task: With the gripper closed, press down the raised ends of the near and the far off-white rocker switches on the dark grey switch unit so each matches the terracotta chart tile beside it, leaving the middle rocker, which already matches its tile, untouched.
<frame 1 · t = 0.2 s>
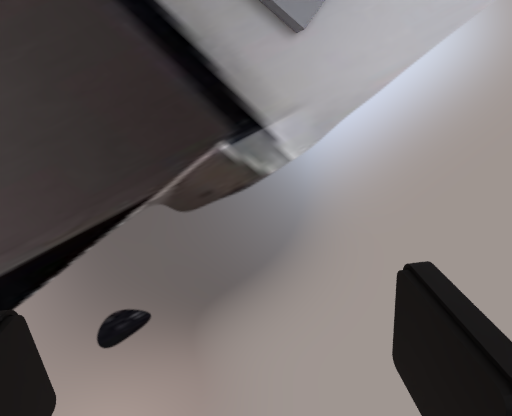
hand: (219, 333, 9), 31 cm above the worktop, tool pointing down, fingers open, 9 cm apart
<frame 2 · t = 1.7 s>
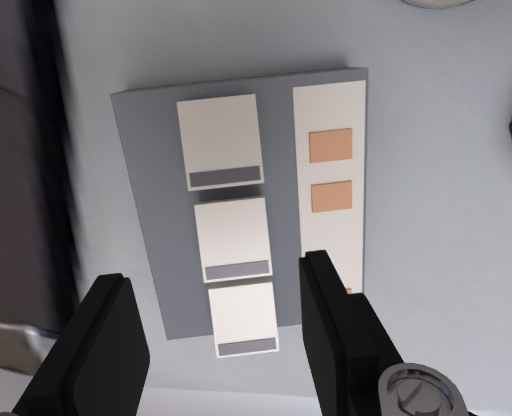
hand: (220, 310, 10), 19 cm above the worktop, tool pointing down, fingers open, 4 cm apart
switch unit: (251, 201, 30), on the worktop
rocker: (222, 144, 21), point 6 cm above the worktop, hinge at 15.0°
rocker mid: (234, 238, 24), point 6 cm above the worktop, hinge at 15.0°
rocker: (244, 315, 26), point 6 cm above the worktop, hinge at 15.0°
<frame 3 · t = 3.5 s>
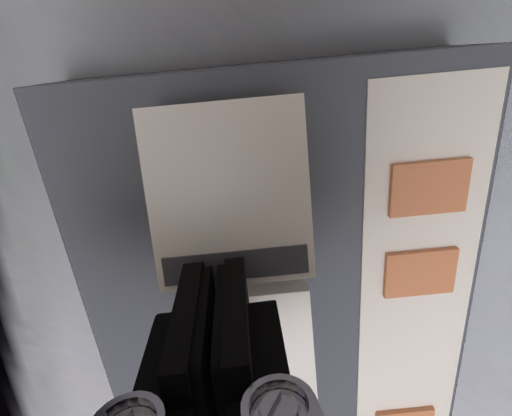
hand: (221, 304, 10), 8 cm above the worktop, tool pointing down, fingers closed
switch unit: (274, 259, 19), on the worktop
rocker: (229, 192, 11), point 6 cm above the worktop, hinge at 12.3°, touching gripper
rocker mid: (249, 355, 13), point 6 cm above the worktop, hinge at 15.0°
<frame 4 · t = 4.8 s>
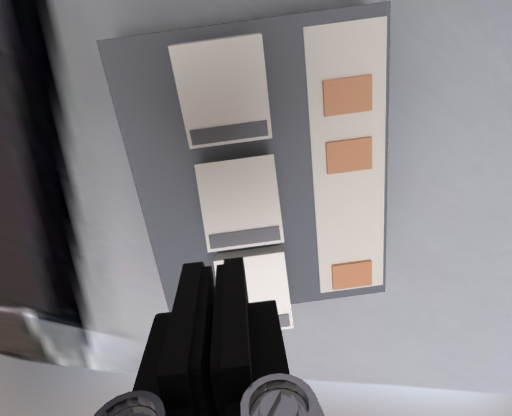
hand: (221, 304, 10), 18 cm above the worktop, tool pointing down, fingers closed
switch unit: (259, 168, 27), on the worktop
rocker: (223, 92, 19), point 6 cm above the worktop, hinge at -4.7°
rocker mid: (240, 202, 21), point 6 cm above the worktop, hinge at 15.0°
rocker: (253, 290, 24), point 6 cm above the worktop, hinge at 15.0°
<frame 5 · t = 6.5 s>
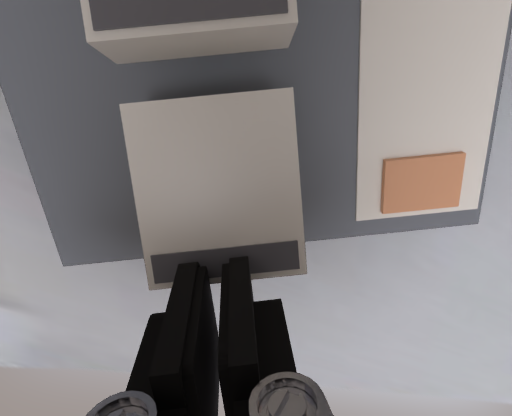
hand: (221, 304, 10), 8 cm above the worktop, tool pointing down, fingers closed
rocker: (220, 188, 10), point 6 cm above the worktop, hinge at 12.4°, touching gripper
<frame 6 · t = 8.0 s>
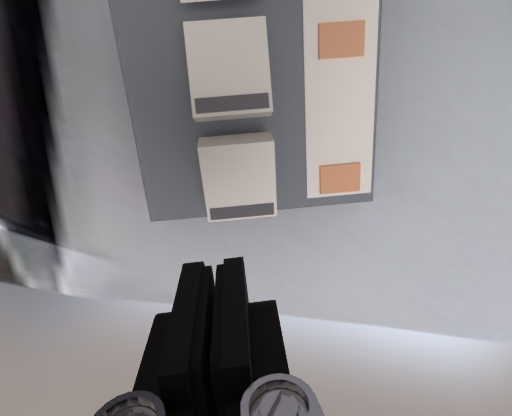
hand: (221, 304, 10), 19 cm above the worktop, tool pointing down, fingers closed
switch unit: (249, 69, 26), on the worktop
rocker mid: (229, 71, 20), point 6 cm above the worktop, hinge at 15.0°
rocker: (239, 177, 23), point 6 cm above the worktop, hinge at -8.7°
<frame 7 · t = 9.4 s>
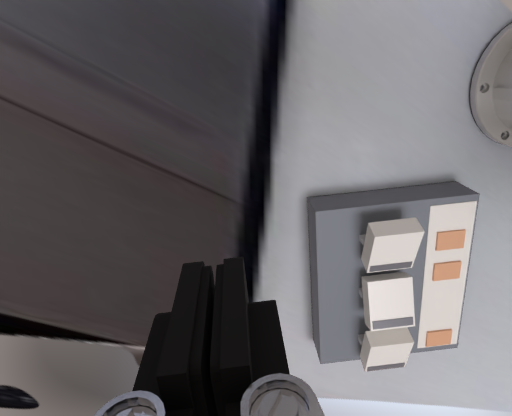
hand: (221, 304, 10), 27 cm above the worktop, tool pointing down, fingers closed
switch unit: (378, 266, 42), on the worktop
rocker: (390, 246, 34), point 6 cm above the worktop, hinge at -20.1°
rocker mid: (388, 301, 36), point 6 cm above the worktop, hinge at 15.0°
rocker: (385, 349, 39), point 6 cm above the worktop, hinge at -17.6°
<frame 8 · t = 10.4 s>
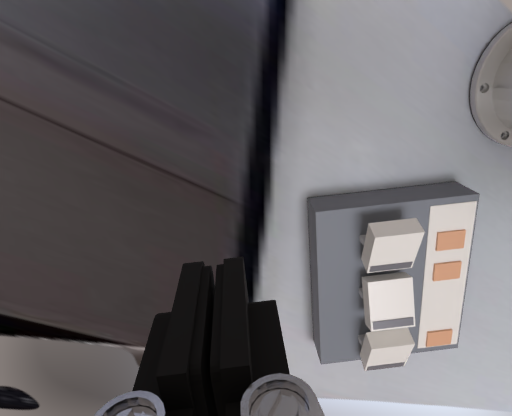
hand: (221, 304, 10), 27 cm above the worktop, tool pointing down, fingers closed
switch unit: (379, 266, 42), on the worktop
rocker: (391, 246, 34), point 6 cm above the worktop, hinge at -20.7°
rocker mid: (388, 301, 36), point 6 cm above the worktop, hinge at 15.0°
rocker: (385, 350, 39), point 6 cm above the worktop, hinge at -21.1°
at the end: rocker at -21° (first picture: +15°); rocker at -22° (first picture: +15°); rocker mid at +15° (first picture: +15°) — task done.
